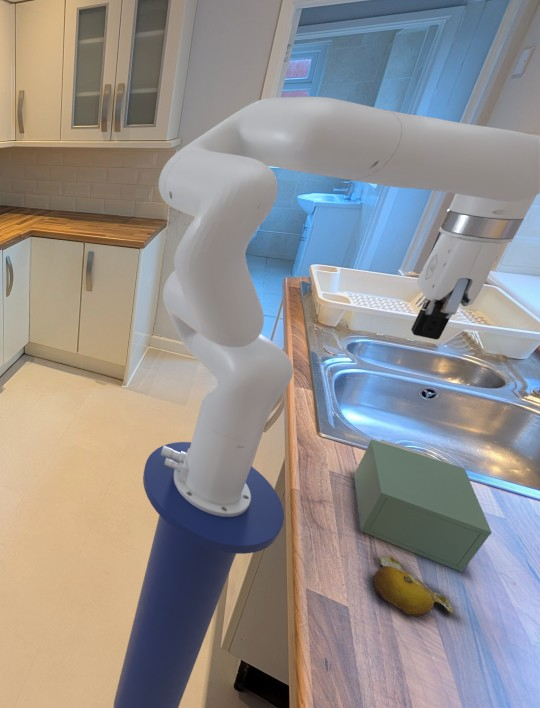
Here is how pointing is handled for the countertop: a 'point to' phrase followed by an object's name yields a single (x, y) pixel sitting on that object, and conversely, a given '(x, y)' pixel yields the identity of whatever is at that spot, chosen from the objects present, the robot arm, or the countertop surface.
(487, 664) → the countertop surface
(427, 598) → the fruit
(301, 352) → the countertop surface
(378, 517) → the cabinet
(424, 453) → the drawer
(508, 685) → the countertop surface
